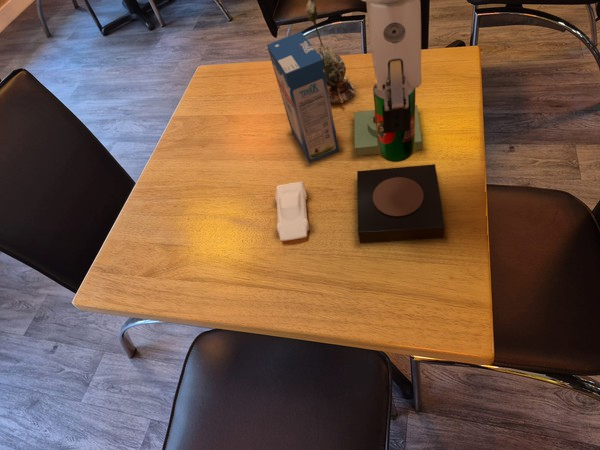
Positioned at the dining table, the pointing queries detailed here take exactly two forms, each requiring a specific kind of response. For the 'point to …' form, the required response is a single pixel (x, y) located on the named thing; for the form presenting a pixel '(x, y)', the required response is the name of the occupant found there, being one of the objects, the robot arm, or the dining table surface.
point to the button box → (375, 133)
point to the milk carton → (304, 95)
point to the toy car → (291, 211)
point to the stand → (399, 204)
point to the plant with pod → (332, 66)
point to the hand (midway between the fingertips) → (395, 113)
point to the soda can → (395, 143)
